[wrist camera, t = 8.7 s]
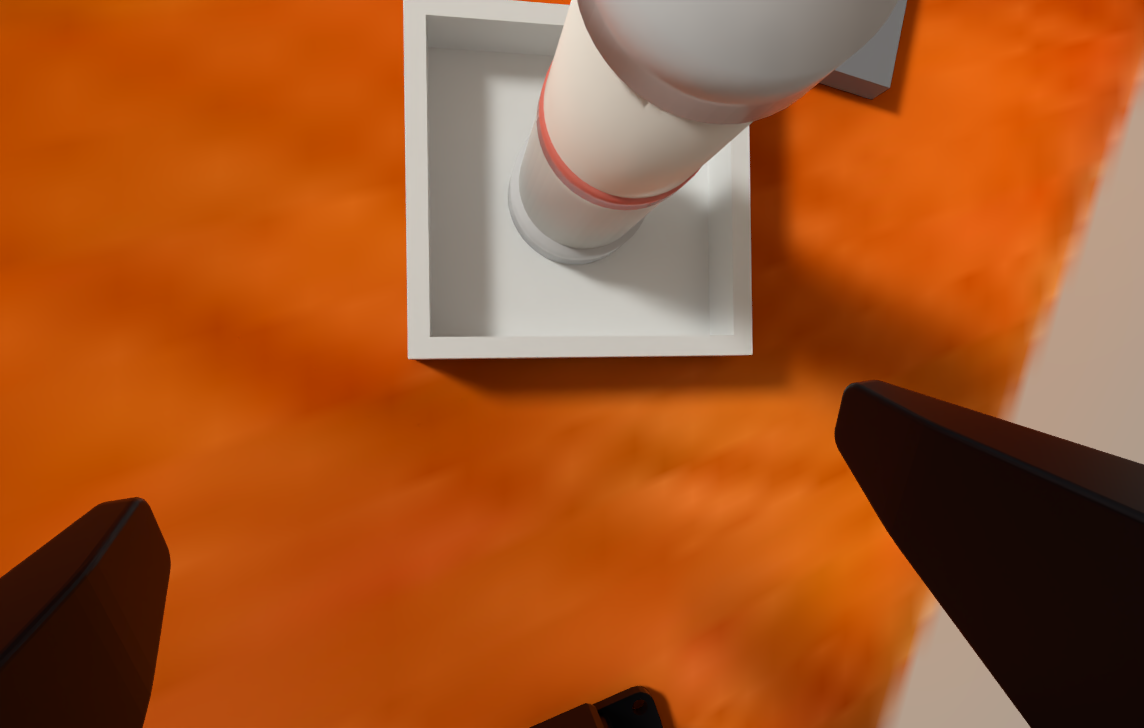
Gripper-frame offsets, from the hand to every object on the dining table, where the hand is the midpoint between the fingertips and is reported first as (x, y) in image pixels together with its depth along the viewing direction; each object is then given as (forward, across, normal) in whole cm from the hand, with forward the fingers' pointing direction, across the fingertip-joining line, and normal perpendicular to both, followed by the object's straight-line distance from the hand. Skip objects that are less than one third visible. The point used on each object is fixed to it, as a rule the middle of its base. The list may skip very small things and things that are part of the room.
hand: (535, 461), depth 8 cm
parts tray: (+14, -4, +1) cm, 15 cm away
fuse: (+14, -4, 0) cm, 14 cm away
